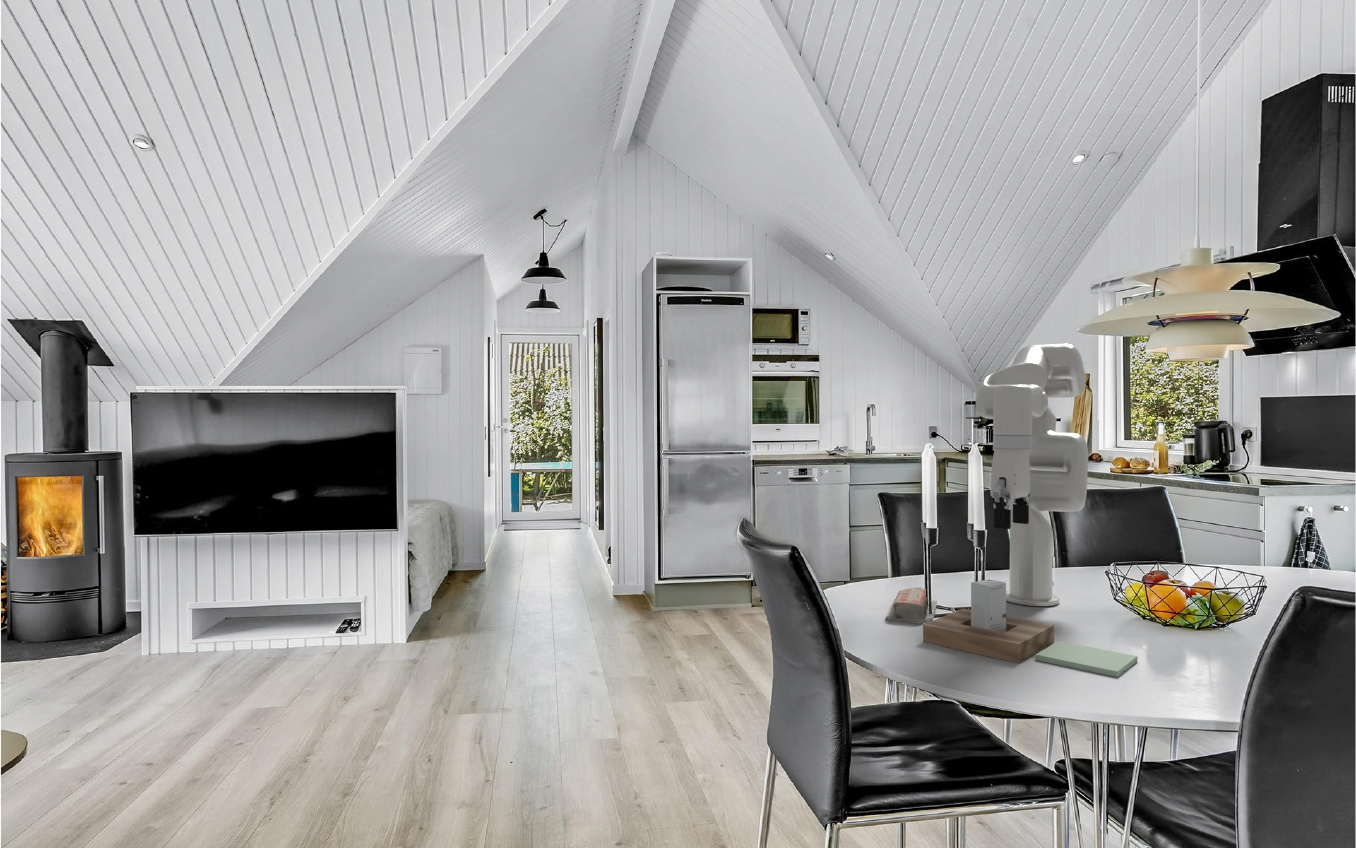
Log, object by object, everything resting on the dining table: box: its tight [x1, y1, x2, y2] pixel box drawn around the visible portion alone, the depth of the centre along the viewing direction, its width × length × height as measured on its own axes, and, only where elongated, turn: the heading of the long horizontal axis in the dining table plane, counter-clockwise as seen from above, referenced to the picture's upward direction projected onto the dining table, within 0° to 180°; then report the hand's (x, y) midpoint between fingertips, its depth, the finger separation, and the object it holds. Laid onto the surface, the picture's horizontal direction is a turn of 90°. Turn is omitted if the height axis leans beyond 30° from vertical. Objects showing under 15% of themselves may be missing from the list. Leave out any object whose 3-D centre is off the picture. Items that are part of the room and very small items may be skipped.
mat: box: [1034, 640, 1139, 678], centre depth 150 cm, size 12×14×1 cm
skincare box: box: [970, 579, 1007, 633], centre depth 162 cm, size 6×4×12 cm
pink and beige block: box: [885, 587, 938, 624], centre depth 185 cm, size 18×5×10 cm
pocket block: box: [922, 608, 1055, 664], centre depth 162 cm, size 18×19×4 cm
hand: (1011, 525), depth 169 cm, fingers open, 9 cm apart
